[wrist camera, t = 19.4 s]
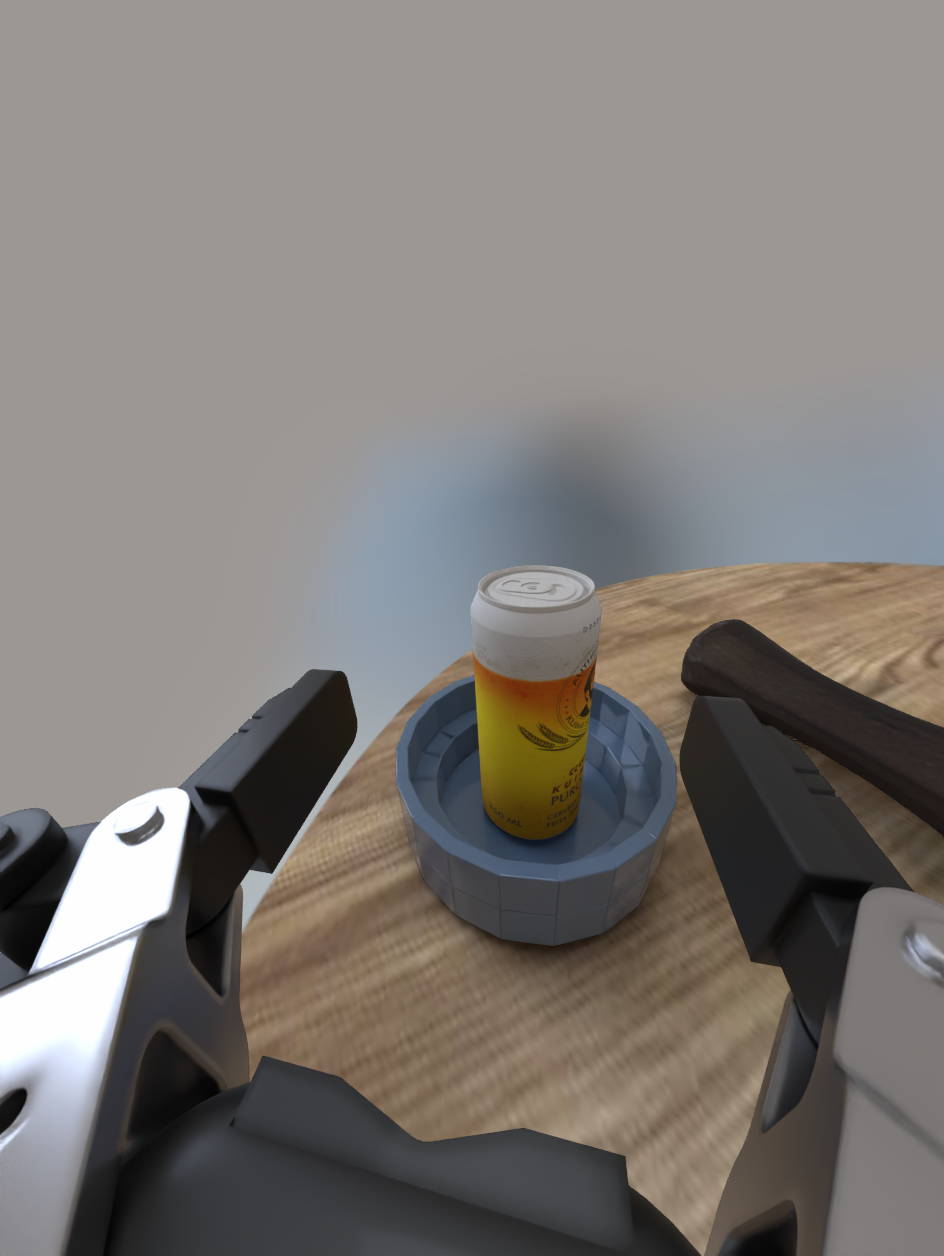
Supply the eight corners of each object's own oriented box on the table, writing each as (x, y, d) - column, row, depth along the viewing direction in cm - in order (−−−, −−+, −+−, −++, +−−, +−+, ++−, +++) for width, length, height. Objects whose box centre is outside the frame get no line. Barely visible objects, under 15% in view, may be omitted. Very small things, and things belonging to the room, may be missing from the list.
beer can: (572, 862, 21) (600, 618, 14) (469, 831, 23) (448, 603, 16) (583, 777, 26) (607, 566, 19) (497, 757, 28) (491, 560, 21)
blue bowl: (357, 871, 22) (334, 801, 19) (472, 709, 34) (468, 652, 31) (648, 1026, 16) (676, 955, 13) (660, 760, 28) (676, 694, 25)
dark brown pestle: (1462, 1213, 12) (708, 730, 37) (1804, 975, 10) (764, 634, 35) (1541, 1386, 8) (630, 708, 33) (2160, 1034, 6) (688, 598, 31)
